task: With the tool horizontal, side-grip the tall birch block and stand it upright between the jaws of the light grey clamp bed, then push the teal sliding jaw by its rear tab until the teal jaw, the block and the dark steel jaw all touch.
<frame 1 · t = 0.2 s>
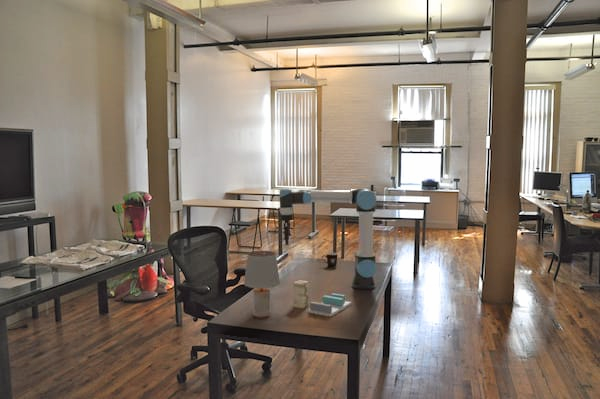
hand: (287, 248, 302), 28 cm above the table, tool pointing down, fingers open, 13 cm apart
coffee mug: (330, 266, 373), on the table
hard drive box: (364, 270, 362), on the table
lamp: (262, 316, 259), on the table
clamp bed: (328, 309, 271), on the table
birch block: (301, 306, 277), on the table
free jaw: (335, 299, 278), point 4 cm above the table, slide at 0.0 cm
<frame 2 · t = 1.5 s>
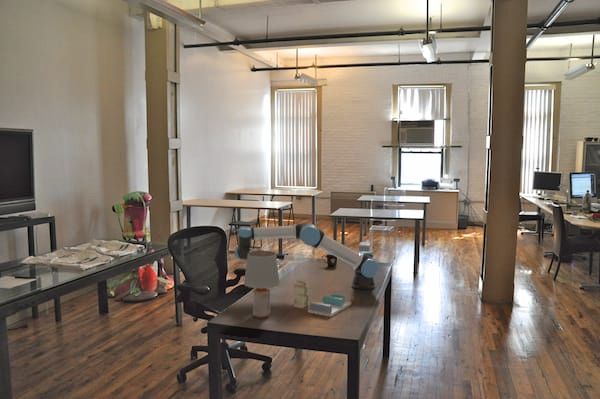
hand: (287, 260, 280), 25 cm above the table, tool horizontal, fingers open, 13 cm apart
nothing on the table moved.
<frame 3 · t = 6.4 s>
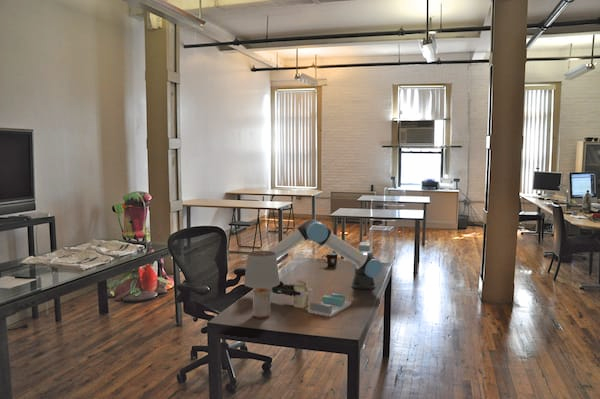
hand: (309, 292, 273), 8 cm above the table, tool horizontal, fingers closed on birch block, 6 cm apart
birch block: (301, 306, 277), on the table, touching gripper
everything else where it was.
when the fingers open (11 cm above the table, at t = 11.5 s): birch block drops 1 cm, resting on clamp bed.
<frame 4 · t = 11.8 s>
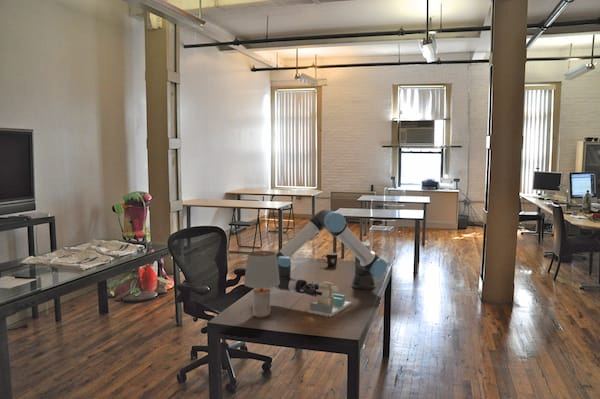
hand: (332, 291, 265), 11 cm above the table, tool horizontal, fingers open, 10 cm apart
birch block: (325, 308, 268), point 1 cm above the table, touching clamp bed
everything else where it was.
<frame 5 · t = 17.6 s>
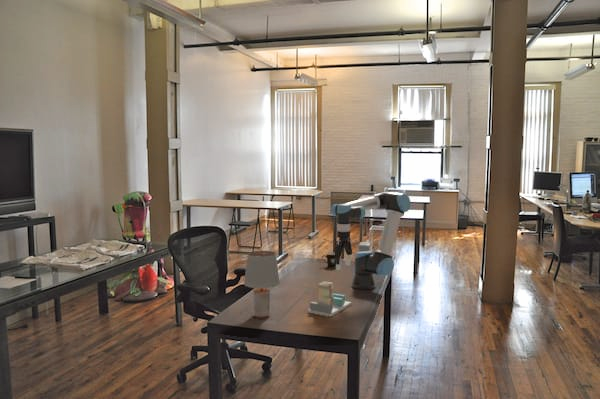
hand: (343, 267, 284), 20 cm above the table, tool pointing down, fingers open, 11 cm apart
nothing on the table moved.
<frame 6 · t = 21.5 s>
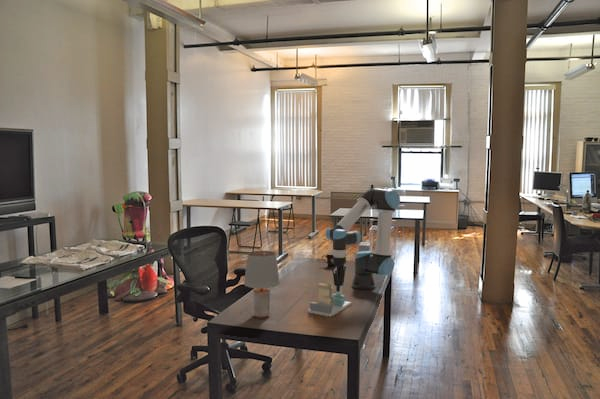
hand: (338, 296, 281), 4 cm above the table, tool pointing down, fingers closed
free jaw: (334, 299, 277), point 4 cm above the table, slide at 0.5 cm, touching gripper
everything else where it was.
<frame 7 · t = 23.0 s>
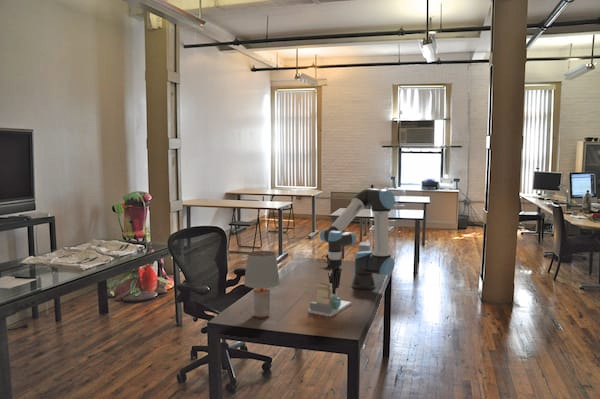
hand: (334, 299, 277), 4 cm above the table, tool pointing down, fingers closed
birch block: (324, 308, 267), point 1 cm above the table, touching clamp bed, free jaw
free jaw: (330, 301, 273), point 4 cm above the table, slide at 5.5 cm, touching birch block, gripper
everything else where it was.
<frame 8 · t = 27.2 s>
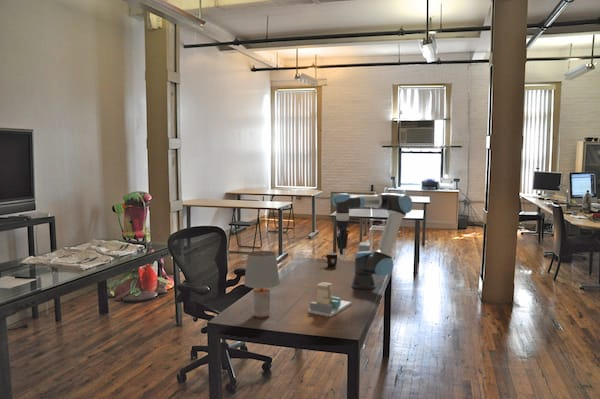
hand: (342, 259, 286), 24 cm above the table, tool pointing down, fingers closed
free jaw: (330, 301, 273), point 4 cm above the table, slide at 5.5 cm, touching birch block
everything else where it was.
at the end: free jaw slide at 5.5 cm; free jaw touching birch block; birch block tilted 0° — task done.
